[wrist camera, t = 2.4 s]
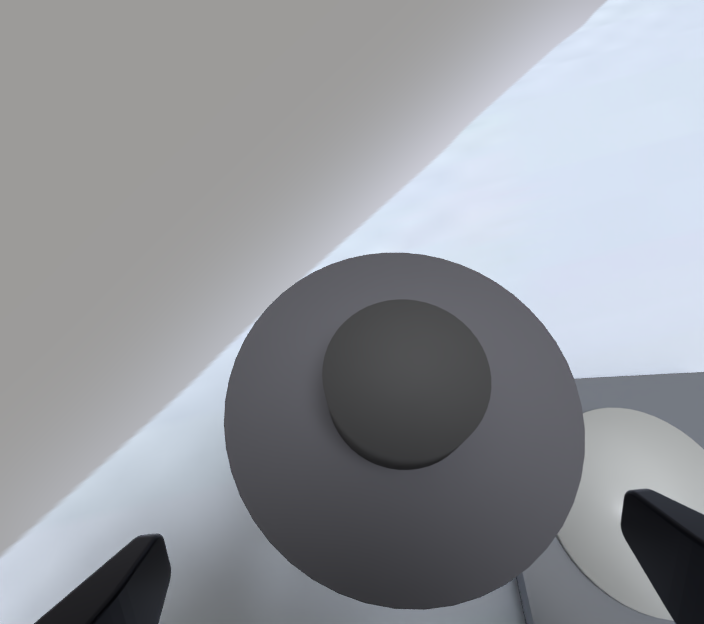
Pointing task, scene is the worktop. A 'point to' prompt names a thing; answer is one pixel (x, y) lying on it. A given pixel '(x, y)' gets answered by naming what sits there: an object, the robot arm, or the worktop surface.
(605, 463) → the socket
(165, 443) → the worktop surface
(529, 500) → the plug
